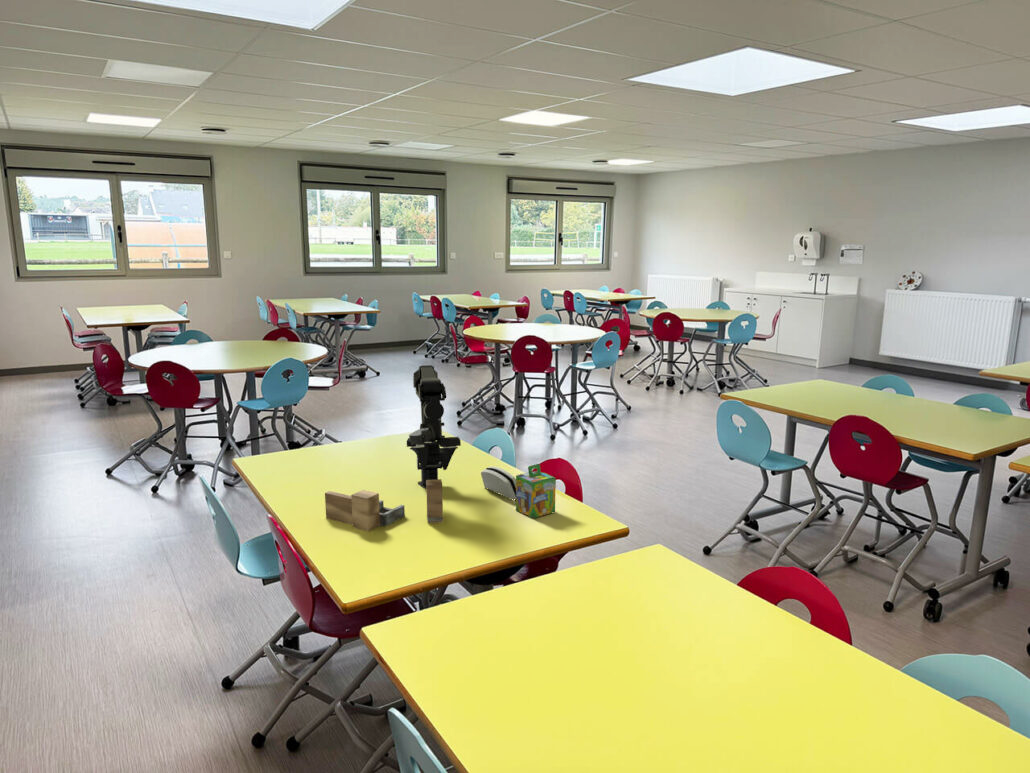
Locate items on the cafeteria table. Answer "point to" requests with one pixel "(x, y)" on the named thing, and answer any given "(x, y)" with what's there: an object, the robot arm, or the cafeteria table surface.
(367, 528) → the wooden fixture with frame
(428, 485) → the wooden block
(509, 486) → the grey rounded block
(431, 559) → the cafeteria table surface
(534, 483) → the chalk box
